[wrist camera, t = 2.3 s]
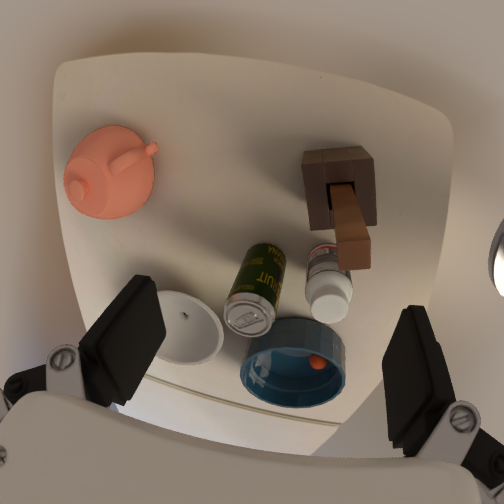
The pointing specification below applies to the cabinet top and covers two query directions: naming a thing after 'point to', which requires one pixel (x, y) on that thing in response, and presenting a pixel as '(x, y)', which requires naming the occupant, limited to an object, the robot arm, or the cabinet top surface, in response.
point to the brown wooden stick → (349, 229)
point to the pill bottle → (327, 285)
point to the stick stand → (333, 171)
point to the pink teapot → (110, 173)
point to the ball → (317, 361)
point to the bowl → (294, 364)
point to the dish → (188, 329)
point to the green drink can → (256, 291)
